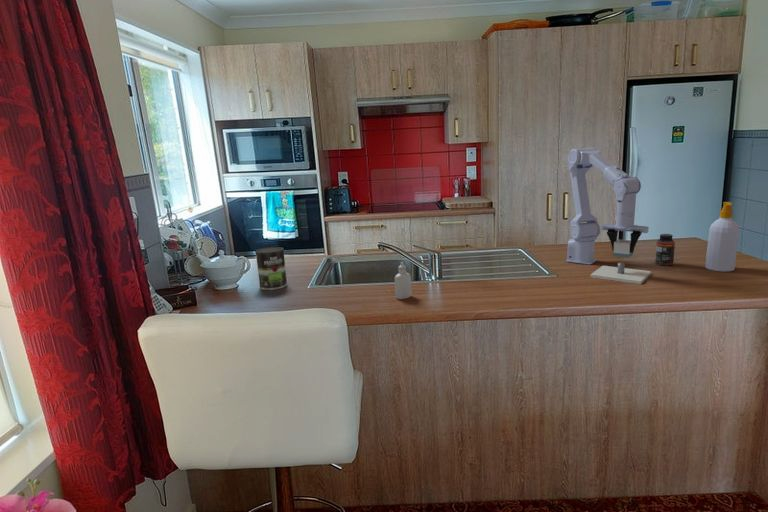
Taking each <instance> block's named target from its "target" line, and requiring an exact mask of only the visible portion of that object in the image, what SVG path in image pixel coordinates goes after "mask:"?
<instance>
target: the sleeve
mask: <svg viewBox="0 0 768 512" xmlns="http://www.w3.org/2000/svg"><path fill="white" fill-rule="evenodd" d="M630 245H631V240H628V239H627V240H626V239H617V241H615V242H614V251H612V252H613V253H612V254H613V257H618V258H628V259H629V258H631V256H633V253H634V252H633V253H630Z"/></svg>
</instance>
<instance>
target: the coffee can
mask: <svg viewBox="0 0 768 512" xmlns="http://www.w3.org/2000/svg"><path fill="white" fill-rule="evenodd" d="M284 252H285V251H284V247H280V246H268V247H263V248H258V249H256V250H255V257H256V265H257V266H256V267H257V273H258V274H257V275H258V276H257V277H258V283H259V284H258V285H259V289H260V290H263V291H273V290H279V289H283V288H285V287H287V286H288V282H287V281H288V280H287V272H286V271H287V269H286V261H285V253H284Z"/></svg>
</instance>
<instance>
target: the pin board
mask: <svg viewBox="0 0 768 512" xmlns="http://www.w3.org/2000/svg"><path fill="white" fill-rule="evenodd" d="M625 264H626V263H625V262H617V266H610V265H609V266H608V265H601V266H600V267H599V268H598V269H596V270H595V271H593V272H591V274H590V278H592V279H593V278H594V279H601V280H607V281H613V282H614V281H616V282H621V283H629V284H637V285H642V283H644V282H645V281H646V280H647V279H648V277H650V275H651V274H652V272H651V271H650V270H644V269H636V268H635V269H634V268H627V267H625V266H626V265H625Z"/></svg>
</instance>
